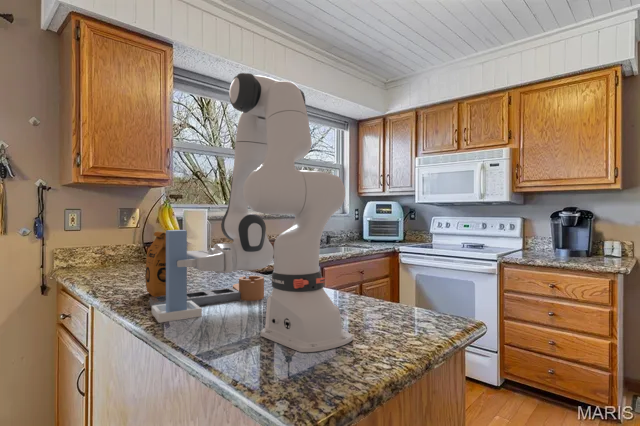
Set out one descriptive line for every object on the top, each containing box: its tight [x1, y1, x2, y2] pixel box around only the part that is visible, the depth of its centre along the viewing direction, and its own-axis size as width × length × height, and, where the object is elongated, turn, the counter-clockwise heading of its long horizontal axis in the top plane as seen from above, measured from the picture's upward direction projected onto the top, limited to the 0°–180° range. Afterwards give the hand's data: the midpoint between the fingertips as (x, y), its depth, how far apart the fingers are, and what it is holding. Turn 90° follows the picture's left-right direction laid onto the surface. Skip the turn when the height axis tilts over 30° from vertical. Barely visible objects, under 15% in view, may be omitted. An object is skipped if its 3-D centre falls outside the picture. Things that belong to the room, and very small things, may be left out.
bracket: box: [232, 275, 265, 302], centre depth 126 cm, size 18×8×7 cm, turn 25°
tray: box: [151, 301, 203, 324], centre depth 102 cm, size 11×11×2 cm
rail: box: [149, 287, 242, 309], centre depth 116 cm, size 9×26×2 cm, turn 124°
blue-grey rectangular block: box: [165, 229, 188, 313], centre depth 102 cm, size 5×5×23 cm
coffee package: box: [144, 230, 166, 297], centre depth 127 cm, size 10×12×22 cm
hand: (172, 261), depth 101 cm, fingers open, 8 cm apart
